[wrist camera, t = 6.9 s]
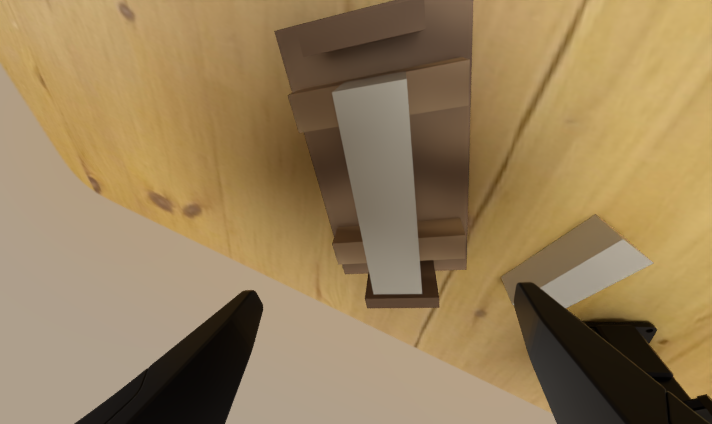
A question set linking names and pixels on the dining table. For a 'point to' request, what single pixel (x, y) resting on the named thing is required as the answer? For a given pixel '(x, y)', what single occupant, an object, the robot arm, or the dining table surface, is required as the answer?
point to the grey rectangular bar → (382, 178)
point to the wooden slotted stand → (426, 112)
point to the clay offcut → (579, 263)
